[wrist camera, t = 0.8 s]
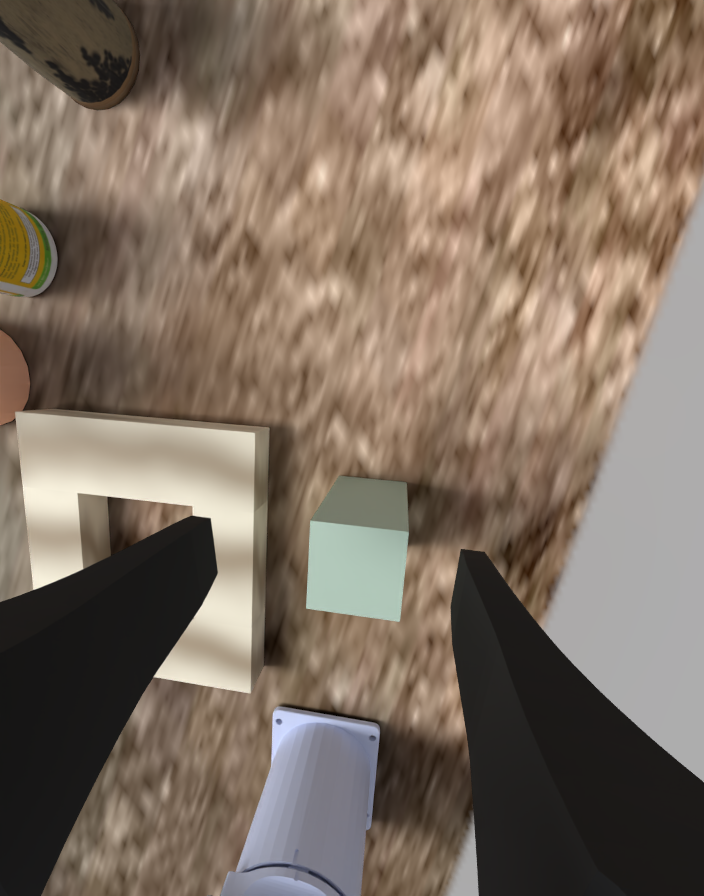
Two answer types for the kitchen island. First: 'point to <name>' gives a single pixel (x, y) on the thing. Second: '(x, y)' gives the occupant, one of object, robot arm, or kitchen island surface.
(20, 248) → the supplement bottle
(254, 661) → the board with square hole
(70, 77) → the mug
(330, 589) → the peg
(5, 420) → the salt shaker
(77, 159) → the kitchen island surface
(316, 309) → the kitchen island surface
